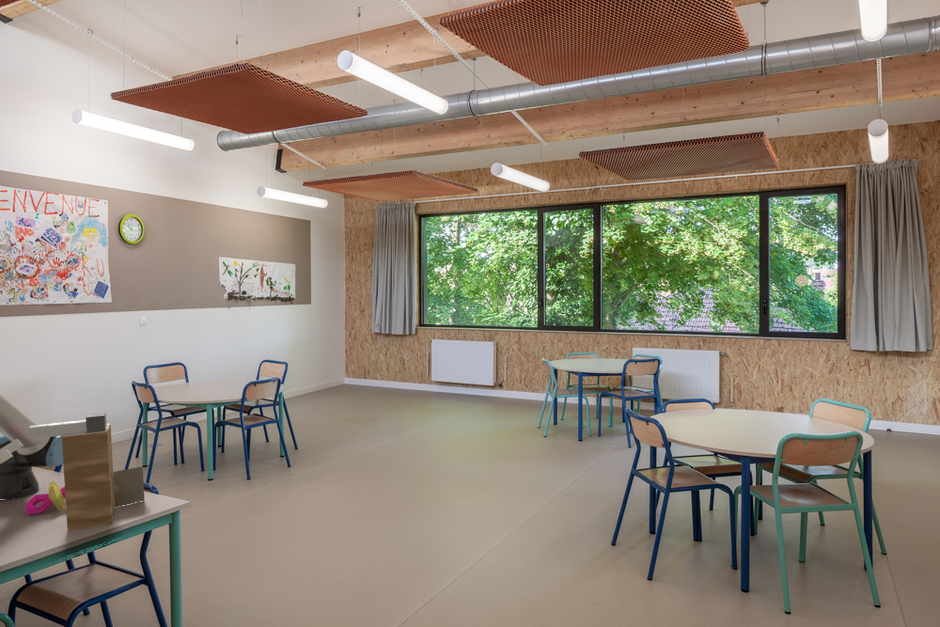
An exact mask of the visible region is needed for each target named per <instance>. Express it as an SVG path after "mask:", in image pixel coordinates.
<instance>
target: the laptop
mask: <svg viewBox="0 0 940 627" xmlns="http://www.w3.org/2000/svg"><path fill="white" fill-rule="evenodd" d="M143 468H144V467H143V466H139V467H132V468H127V469H122V470H117V471H113V478H114V496H115V507H118V506H122V505H127V504H131V503H135V502H140V501H144V502H145V484H144V469H143ZM127 506H128V505H127ZM118 508H119V507H118Z"/></svg>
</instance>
